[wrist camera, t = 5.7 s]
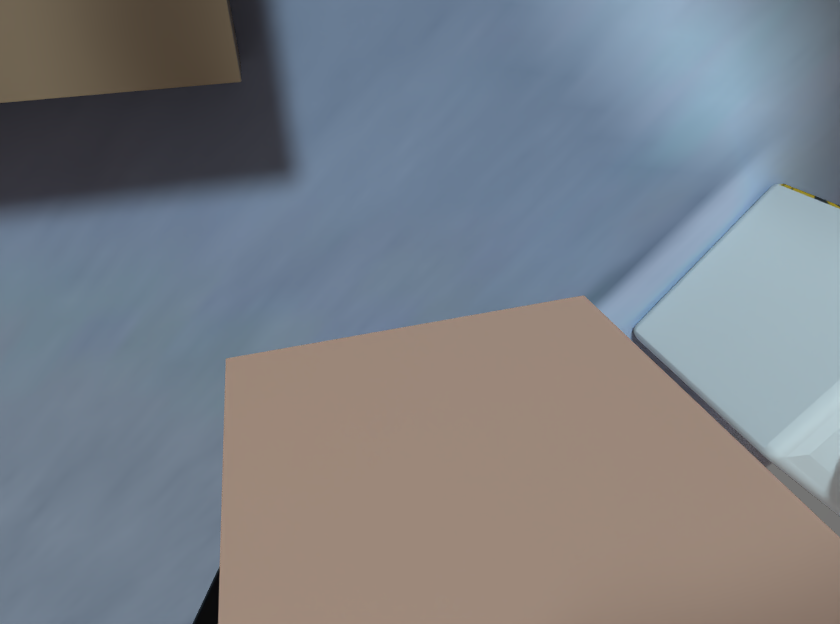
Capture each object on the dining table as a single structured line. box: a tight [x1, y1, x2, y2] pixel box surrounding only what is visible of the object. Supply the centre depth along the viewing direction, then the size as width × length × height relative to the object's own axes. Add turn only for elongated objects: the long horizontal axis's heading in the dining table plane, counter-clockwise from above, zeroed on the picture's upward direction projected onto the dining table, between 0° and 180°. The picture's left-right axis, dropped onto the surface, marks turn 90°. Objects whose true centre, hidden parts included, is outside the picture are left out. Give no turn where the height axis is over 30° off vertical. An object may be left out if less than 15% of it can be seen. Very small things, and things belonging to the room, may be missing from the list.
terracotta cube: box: [218, 296, 840, 624], centre depth 7 cm, size 5×5×5 cm
